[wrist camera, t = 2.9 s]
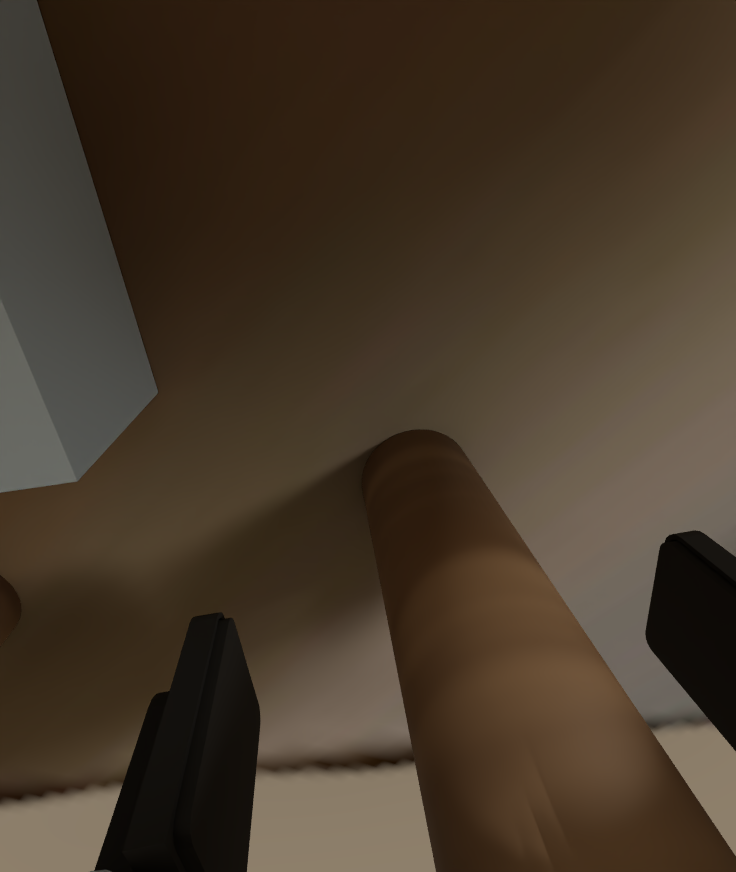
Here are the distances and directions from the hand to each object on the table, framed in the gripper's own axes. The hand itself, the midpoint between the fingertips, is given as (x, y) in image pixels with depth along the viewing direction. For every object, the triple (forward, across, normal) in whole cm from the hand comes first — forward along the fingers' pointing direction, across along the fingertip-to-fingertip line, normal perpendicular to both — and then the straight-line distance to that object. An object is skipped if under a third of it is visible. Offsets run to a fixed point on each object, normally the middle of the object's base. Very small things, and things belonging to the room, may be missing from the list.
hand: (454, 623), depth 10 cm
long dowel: (+6, 0, 0) cm, 6 cm away
